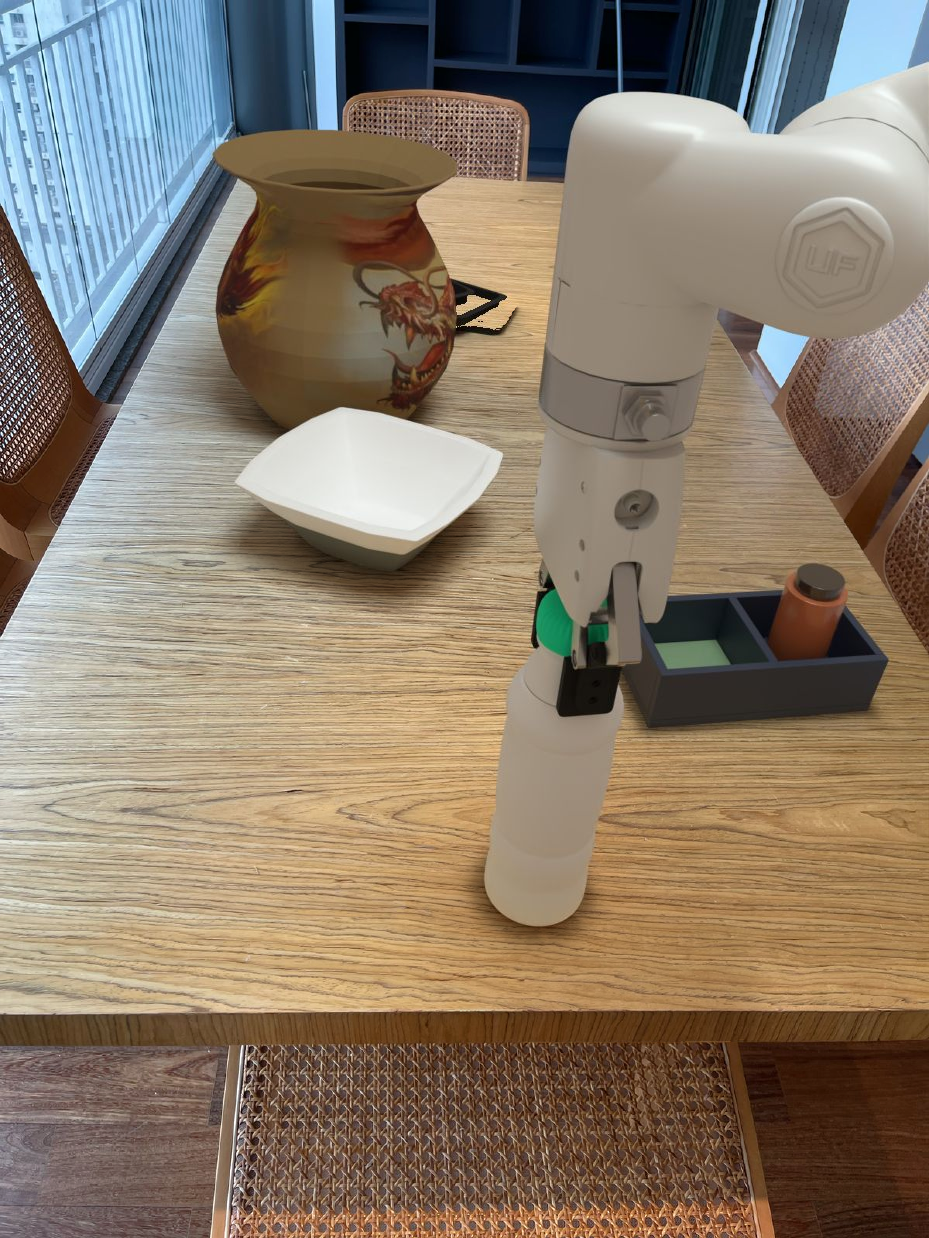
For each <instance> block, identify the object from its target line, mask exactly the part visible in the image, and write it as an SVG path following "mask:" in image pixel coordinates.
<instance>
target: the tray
mask: <svg viewBox="0 0 929 1238" xmlns="http://www.w3.org/2000/svg"><path fill="white" fill-rule="evenodd" d="M450 280H451V283H452V286H453V289H454V293H455V302H456V306H457V305H461V304H465V303H466V302H467V296H468V295H476V296H479V297H481V298H485V299H488V300H491V301H490V302H487V303H485V304H483V305H481V306H479V307H477V308H475V309H473V310H470V311H468V312H466V313H464V314H462V315H456V326H457V328H456V330H458V331H463V332H468V333H476V334H481V335H488V336H497V335H498V334H500V332H501V331H502V329H503V328H496V329H501V330H496V329H495V330H493V329H490V328H483V327H477V326H471V327H470V326H468V327H467V326H461V325H465V324H466V323H468V322H470V321H472V320H473V319H476V318H477V317H479V316H480V315H483V314H485V313H486V312H488V311H489V310H491V309H493V308H496V307H498V305H499V302H500V301H502V300H505V299H506V298H507V296H506V295H507V294H504V293H502V292H497V291H495V290H491V289H488V288H484V287H481V286H477V285H475V284H471V283H468V282H465V281H461V280H457V279H455V278H451V277H450ZM478 322H480V321H478ZM481 322H483V321H481ZM458 326H459V327H458ZM460 326H461V327H460Z"/></svg>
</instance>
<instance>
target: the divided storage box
mask: <svg viewBox="0 0 929 1238" xmlns="http://www.w3.org/2000/svg"><path fill="white" fill-rule="evenodd" d="M782 592H783V589H771V590H769V589H768V590H754V591H735V592H734V591H733V592H717V593H697V594H681V595H679V594H678V595H677V594H676V595H668V597H667V601H666V606H665V610H664V613H663V616H662V618H661V619H660V620H659V621H658V622H657V623H644V621H643V619H642V617H641V615H640V613H639V620H640V634H641V648H642V659H641V662H640V663H636V664H626V665H625V666H622V669H621V673H622V675H623V676H624V679H625V680H626V684H627V685H628V687H629V690H630V691H631V694H632V696H633V698H634V700H635V703H636V704H637V706H638V709H639V710H640V713H641V715H642V718H643V719H644V721H645V724H646V726H647V728H648V729H657V728H658V729H660V728H671V727H685V726H697V725H707V724H708V725H709V724H721V723H733V722H747V721H758V720H770V719H772V720H773V719H784V718H797V717H809V716H810V717H811V716H822V715H834V714H835V715H836V714H846V713H847V714H848V713H859V712H868V711H869V708H870V706H871V703H872V701H873V700H874V699H873V698H874V696H875V694H876V691H877V689H878V687H879V685H880V683H881V680H882V677H883V675H884V673H885V670H886V668H887V666H888V663H889V661H890V659H889V658H888V656H887V655H886V654H885V653H884V652H883V650H882V649H881V648H880V646H879V645H878V644H877V643H876V642H875V640H874V639H873V637H872V636H871V635H870V634H869V632H867V630H866V629H865V628H864V626H863V625H862V624H861V622H859V620H858V619H857V618H856V616H855V615H854V614H853V613H852V611H851V610H850V609H849V607H848V606H847V604H845V607H844V610H843V612H842V615H841V618H840V620H839V623H838V626H837V628H836V631H835V634H834V636H833V639H832V642H831V644H830V647H829V650H828V652H827V655H826V658H820V659H806V660H791V661H778V660H777V658H776V657H775V655H774V654H773V652H772V651H771V649H770V648H769V646H768V645H767V643H766V641H767V638H768V635H769V632H770V629H771V626H772V623H773V620H774V617H775V614H776V611H777V607H778V604H779V601H780V598H781V595H782Z"/></svg>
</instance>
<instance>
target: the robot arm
mask: <svg viewBox="0 0 929 1238" xmlns="http://www.w3.org/2000/svg"><path fill="white" fill-rule="evenodd" d="M569 137H570V138H569V144H568V149H567V154H566V155H567V157H566V164H565V173H564V181H563V190H562V198H561V208H560V216H559V224H558V232H557V241H556V249H555V258H554V264H553V273H552V274H553V275H552V282H551V290H550V297H549V307H548V315H547V324H546V334H545V342H544V348H543V354H542V355H543V356H542V363H541V364H542V365H541V373H540V381H539V390H538V400H537V407H536V408H537V409H536V411H537V414H538V416H539V418H540V420H541V421H542V423H544V424H545V425H546V427H545V431H544V435H543V436H544V437H543V442H542V446H541V447H542V448H541V453H540V458H539V465H538V471H537V479H536V483H535V484H536V485H535V486H536V487H535V493H534V494H535V495H534V502H533V503H534V505H533V520H532V521H533V523H532V524H533V525H532V527H533V534H534V538H535V541H536V544H537V547H538V550H539V552H540V554H541V558H542V559H541V562H540V566H539V569H538V575H537V579H538V585H539V588H540V589H541V590H537V591H536V599H535V604H534V605H535V607H534V611H533V612H534V613H533V620H532V627H531V633H530V634H531V635H530V642H531V645H532V647H533V649H534V650H536V649H537V648H538V647H539V644H538V641H537V630H536V620H537V613H538V609H539V606H540V603H541V601H542V599H543V598H544V597H545V595H546V594H548V593H549V592H550V591H552V590H554V589H555V588H556V590H557V592H558V594H559V596H560V599H561V601H562V603H563V605H564V607H565V609H566V611H567V613H568V615H569V616H570V618H571V619H573V626H572V647H571V656H565V657H564V660H563V666H562V672H561V679H560V685H559V691H558V697H557V703H556V709H557V712H558V714H559V716H560V717H573V716H585V715H598V714H607V713H610V712H611V711H612V710H613V707H614V702H615V697H616V693H617V688H618V685H619V683H620V678H621V673H622V670H621V669H622V666H625V665H626V664H636V663H640V662H641V659H642V648H641V634H640V620H639V613H640V615H641V617H642V619H643V621H644V623H657V622H658V621H659V620H660V619H661V618H662V616H663V613H664V610H665V606H666V601H667V597H668V596H669V591H670V586H671V580H672V575H673V570H674V564H675V560H676V559H675V558H676V552H677V546H678V542H679V541H678V540H679V534H680V527H681V526H680V525H681V520H682V519H681V518H682V510H683V504H684V503H683V502H684V489H685V475H686V447H685V445H684V442H683V441H685V440H686V439H687V438H688V437H689V436H690V434H691V432H692V430H693V425H694V422H695V416H696V412H697V408H698V403H699V399H700V394H701V389H702V385H703V380H704V377H705V372H706V368H707V363H708V359H709V355H710V350H711V346H712V342H713V337H714V332H715V328H716V324H717V318H718V315H719V310H724V311H727V312H730V313H732V314H734V315H737V316H740V317H743V318H745V319H749V320H751V321H754V322H757V323H759V324H763V325H764V326H768V327H770V328H773V329H776V330H779V331H782V332H785V333H788V334H793V335H797V336H802V337H806V338H813V339H824V340H835V339H836V340H840V339H848V338H852V337H858V336H861V335H866V334H868V333H871V332H873V331H875V330H878V329H880V328H882V327H884V326H886V325H888V324H889V323H891V322H892V321H894V320H896V319H897V318H898V317H899V316H900V315H902V314H903V313H905V311H907V310H908V309H909V308H910V307H911V306H912V305H913V304H914V303H915V301H917V299H918V298H919V296H920V295H921V294H922V293H923V292H924V290H925V289H926V287H927V285H928V283H929V61H927V62H923V63H920V64H917V65H915V66H912V67H909V68H907V69H904V70H901V71H898V72H895V73H892V74H889V75H887V76H884V77H880V78H878V79H875V80H873V81H869V82H866V83H864V84H861V85H858V86H855V87H852V88H850V89H848V90H846V91H842V92H841V93H838V94H835V95H833V96H830V97H828V98H826V99H824V100H822V101H820V102H818V103H816V104H815V105H813V106H811V107H809V108H807V109H806V110H805V111H803V112H802V113H801V114H799V115H798V116H796V117H795V118H793V119H792V120H791V121H790V122H789V123H788V124H787V125H786V126H785V127H784V128H783V129H782V130H781V131H780V132H779V134H775V133H774V134H773V133H759V132H751V130H750V127H749V124H748V122H747V121H746V120H745V119H744V117H743V116H742V115H741V114H740V113H738V112H737V111H735V110H734V109H732V108H730V107H728V106H726V105H725V104H721V103H718V102H715V101H711V100H707V99H705V98H704V99H703V98H700V97H699V98H698V97H694V96H689V95H683V94H675V93H668V92H667V93H665V92H653V91H652V92H651V91H624V92H622V91H621V92H615V93H610V94H607V95H603V96H600V97H597V98H595V99H593V100H592V101H591V102H589V103H588V104H586V105H585V106H584V107H583V108H582V109H581V110H580V111H579V113H578V115H577V116H576V119H575V121H574V124H573V127H572V129H571V132H570V136H569ZM604 600H607V607H600V606H601V605H602V603H603V602H604ZM604 624H608V627H609V636H608V640H607V641H600V642H594V643H591V644H588V636H589V625H604Z"/></svg>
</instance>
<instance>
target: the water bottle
mask: <svg viewBox="0 0 929 1238" xmlns="http://www.w3.org/2000/svg"><path fill="white" fill-rule="evenodd" d="M600 607H607V600H604V602H603V603H602V605H601V606H600ZM572 626H573V619H571V618H570V616H569V615H568V613H567V611H566V609H565V607H564V605H563V603H562V601H561V599H560V596H559V594H558V592H557V590H556V588H555V589H554V590H552V591H550V592H549V593H548V594H546V595H545V597H544V598H543V599H542V601H541V603H540V606H539V609H538V613H537V620H536V630H537V641H538V644H539V647H538V648H537V649H534V650H533V651H532V652H531V654H530V655H529V656H528V658H527V660H526V661H525V663H524V664H523V665H522V666H521V667H520V668H519V669H518V670H517V671H516V673H515V674H514V676H513V678H512V679H511V680H510V683H509V685H508V688H507V691H506V699H505V709H506V714H507V715H506V718H505V722H504V726H503V731H502V737H501V741H500V742H501V743H500V749H499V757H498V762H497V763H498V765H497V774H496V783H495V802H494V803H495V810H494V812H493V815H492V819H491V822H490V827H489V829H490V830H489V849H488V852H487V855H486V861H485V867H484V875H483V880H484V883H483V884H484V888H485V892H486V895H487V897H488V899H489V901H490V903H491V904H492V905H493V906H494V907H495V909H496V910H497V911H498V912H499V913H501V914H502V915H503V916H504V917H506V918H508V919H509V920H511V921H513V922H515V923H518V924H522V925H525V926H530V927H547V926H552V925H556V924H559V923H561V922H563V921H565V920H567V919H569V918H570V917H571V916H572V915H573V914H575V913H576V911H577V910H578V908H579V907H580V905H581V903H582V901H583V899H584V896H585V892H586V887H587V883H588V874H589V865H590V863H591V860H592V856H593V854H594V849H595V843H596V828H597V826H598V823H599V821H600V820H599V819H600V817H601V813H602V810H603V806H604V802H605V799H606V794H607V790H608V785H609V782H610V776H611V772H612V767H613V761H614V755H615V749H616V748H615V747H616V738H617V733H618V732H619V731H620V728H621V725H622V723H623V719H624V712H625V703H624V697H623V693H622V690H621V687H620V685H619V684H618V688H617V693H616V697H615V702H614V707H613V710H612V711H611V712H610V713H607V714H598V715H585V716H573V717H560V716H559V714H558V712H557V709H556V703H557V697H558V691H559V685H560V679H561V672H562V666H563V660H564V657H565V656H571V647H572ZM608 636H609V627H608V624H604V625H589V636H588V644H591V643H594V642H600V641H607V640H608Z"/></svg>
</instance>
